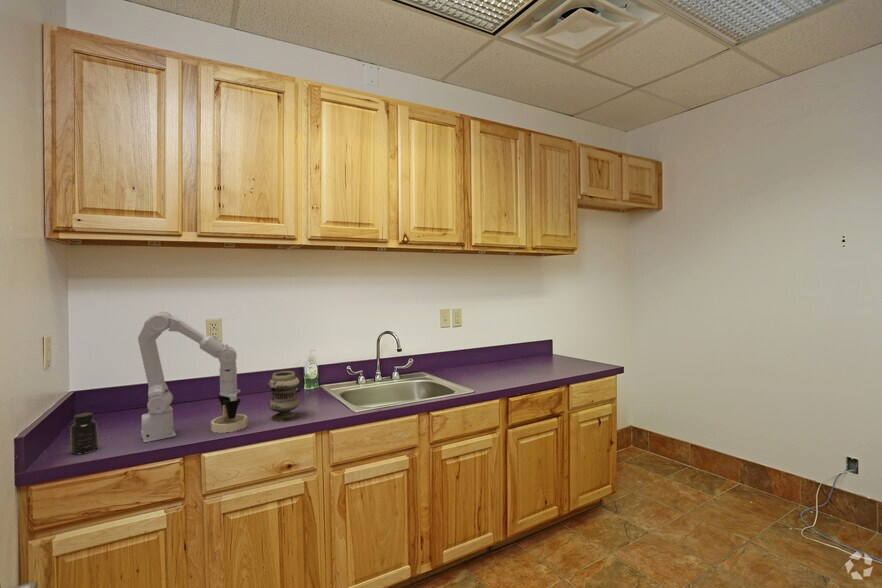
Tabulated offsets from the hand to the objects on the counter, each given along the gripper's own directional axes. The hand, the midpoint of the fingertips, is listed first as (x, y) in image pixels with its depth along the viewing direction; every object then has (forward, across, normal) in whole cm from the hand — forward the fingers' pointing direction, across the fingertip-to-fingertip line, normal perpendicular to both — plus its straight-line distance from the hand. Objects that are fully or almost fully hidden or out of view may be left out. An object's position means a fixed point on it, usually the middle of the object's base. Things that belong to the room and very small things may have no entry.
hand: (229, 415), depth 160 cm
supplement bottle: (+5, +7, +42) cm, 43 cm away
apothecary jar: (+4, -2, -20) cm, 21 cm away
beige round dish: (+4, 0, 0) cm, 4 cm away
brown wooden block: (+4, 0, 0) cm, 4 cm away
